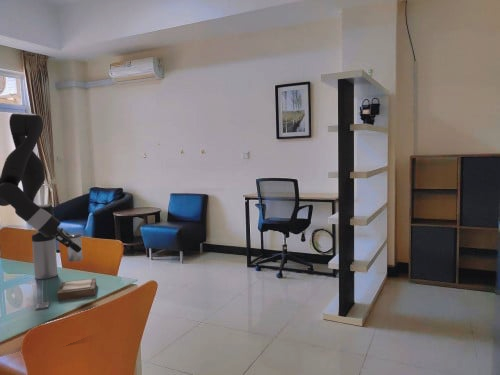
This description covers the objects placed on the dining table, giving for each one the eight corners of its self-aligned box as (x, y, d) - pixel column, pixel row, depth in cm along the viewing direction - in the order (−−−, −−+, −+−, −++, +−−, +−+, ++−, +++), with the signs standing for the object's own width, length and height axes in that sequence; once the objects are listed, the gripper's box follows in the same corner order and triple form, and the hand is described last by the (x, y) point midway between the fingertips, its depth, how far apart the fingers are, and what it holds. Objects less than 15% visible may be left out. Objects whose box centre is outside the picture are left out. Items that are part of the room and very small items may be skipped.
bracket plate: (37, 305, 141) (37, 302, 141) (49, 303, 143) (49, 300, 143) (35, 311, 136) (35, 308, 136) (48, 309, 137) (47, 306, 137)
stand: (62, 289, 156) (61, 281, 156) (96, 285, 160) (95, 277, 160) (57, 300, 144) (57, 292, 144) (94, 295, 148) (94, 287, 148)
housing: (69, 258, 152) (67, 234, 151) (83, 257, 154) (81, 233, 153) (67, 262, 147) (65, 237, 146) (82, 260, 149) (80, 236, 148)
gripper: (49, 217, 139) (87, 245, 145) (52, 212, 152) (86, 238, 158) (34, 233, 138) (72, 261, 144) (38, 226, 151) (73, 252, 157)
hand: (79, 249), depth 151 cm, fingers closed on housing, 5 cm apart
